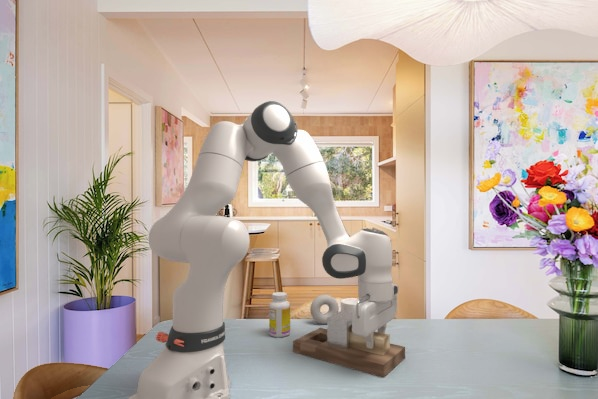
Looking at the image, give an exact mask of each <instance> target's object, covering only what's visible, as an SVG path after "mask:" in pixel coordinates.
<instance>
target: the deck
mask: <svg viewBox="0 0 598 399" xmlns="http://www.w3.org/2000/svg"><path fill="white" fill-rule="evenodd" d="M292 353H296V354H300V355H303V356H306V357H310V358H313V359H318V360H321V361H324V362H326V363H332V364H335V365H338V366H341V367H345V368H348V369H352V370H355V371H359V372H363V373H366V374H369V375H372V376H373V375H374V376H377V377H379V378H385V377H386V376H388V374H389V373H391V372H392V371H393V370H394V369H395V368H397V366H398V365H399V364H401V363H402V362H403V361H404V360H405V359H406V346H403V345H398V344H395V343H394V344H393V343H390V350H389V351H388V352H387V353H385V354H384V355H379V354H375V353H370V352H366V351H362V350H358V349H354V348H350V347H349V349H348V350H343V349H339V348H335V347H331V346H328V345H327V328H323V327H319V328H317V329H315V330H312V331H310V332H309V333H307V334H305V335H303V336H301V337H298V338H296V339H294V340H293V341H292Z"/></svg>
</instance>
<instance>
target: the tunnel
mask: <svg viewBox="0 0 598 399" xmlns="http://www.w3.org/2000/svg"><path fill="white" fill-rule="evenodd" d="M352 317H353V312H348V311H341V310H340V311H338V313H336V314H334V315H332V316H330V317H328V318H327V324H326V329H327V345H328V346H331V347H335V348H339V349H343V350H348V349H349V326H351V327H352Z"/></svg>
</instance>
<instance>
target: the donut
mask: <svg viewBox="0 0 598 399" xmlns="http://www.w3.org/2000/svg"><path fill="white" fill-rule="evenodd" d="M325 305H326V306H327V307H328V311H327V312H326V313H322V312H321V308H322V306H325ZM309 310H310V316H311V317H312V319H313V321H315V322H317V323H319V324H322V325H327V318H328V317H330V316H332V315H334V314H336V313H338V312H339V304H338V301H337V300H336V299H335V297H333V296H332V295H330V294H320V295H318V296H316V297H315V298H314V299H313V300H312V302H311V304H310V309H309Z"/></svg>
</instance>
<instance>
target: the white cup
mask: <svg viewBox="0 0 598 399" xmlns="http://www.w3.org/2000/svg"><path fill="white" fill-rule="evenodd" d="M358 299H359V298H356V297H350V298H349V297H347V298H342V299H341V300H340V311H348V312H353V309H354V306H355V305H356V304H357V303H358Z"/></svg>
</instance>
